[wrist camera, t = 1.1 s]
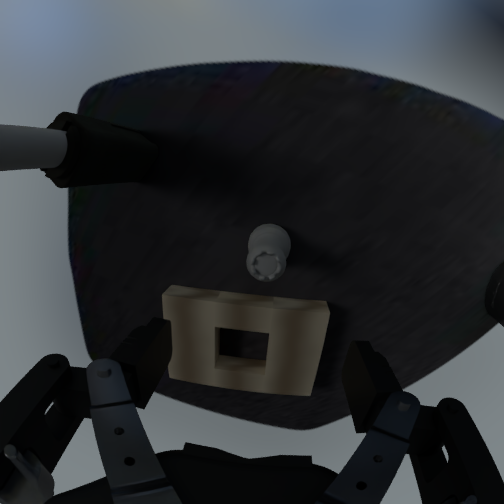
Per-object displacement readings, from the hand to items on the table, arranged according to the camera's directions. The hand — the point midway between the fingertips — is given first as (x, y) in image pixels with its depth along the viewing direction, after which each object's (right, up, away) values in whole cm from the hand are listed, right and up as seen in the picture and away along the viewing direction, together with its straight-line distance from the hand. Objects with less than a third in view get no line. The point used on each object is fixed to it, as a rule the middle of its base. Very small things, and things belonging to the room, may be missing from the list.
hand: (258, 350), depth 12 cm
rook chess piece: (+2, +5, +18) cm, 19 cm away
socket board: (-1, -6, +21) cm, 22 cm away
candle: (-14, +15, +17) cm, 27 cm away
